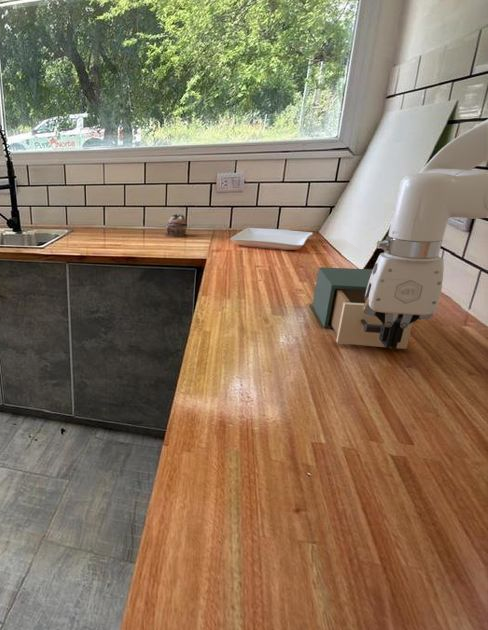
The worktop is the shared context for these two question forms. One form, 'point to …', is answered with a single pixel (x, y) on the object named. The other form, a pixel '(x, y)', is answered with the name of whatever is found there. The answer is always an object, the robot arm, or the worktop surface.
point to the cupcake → (176, 226)
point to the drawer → (358, 321)
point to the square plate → (271, 238)
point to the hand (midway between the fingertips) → (388, 344)
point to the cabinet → (336, 280)
